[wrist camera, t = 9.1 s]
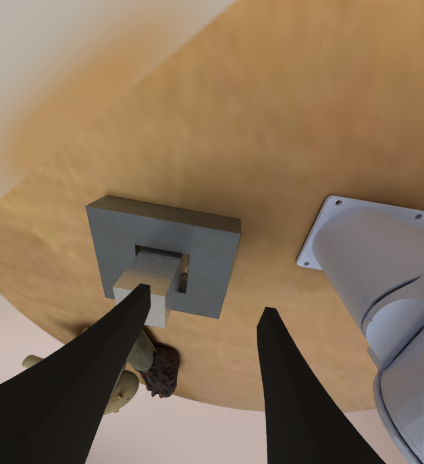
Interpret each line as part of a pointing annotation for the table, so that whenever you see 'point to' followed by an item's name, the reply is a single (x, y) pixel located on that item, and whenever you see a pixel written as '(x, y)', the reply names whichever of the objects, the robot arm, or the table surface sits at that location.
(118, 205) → the grey slab with hole
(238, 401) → the table surface
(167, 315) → the grey wooden block
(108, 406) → the toy sheep
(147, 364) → the tube with rough end
